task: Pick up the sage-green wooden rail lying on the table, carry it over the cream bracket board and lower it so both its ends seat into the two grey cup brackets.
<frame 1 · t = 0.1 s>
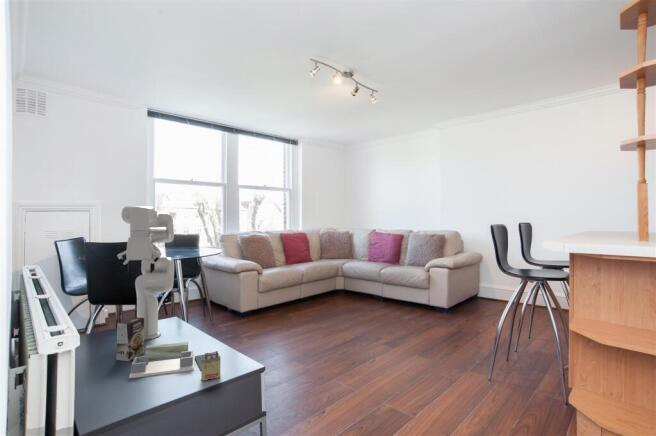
hand: (139, 272, 151), 37 cm above the cabinet, tool pointing down, fingers open, 9 cm apart
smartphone: (205, 363, 145), on the cabinet
worn yellow tin: (210, 378, 132), on the cabinet
rail: (167, 356, 151), on the cabinet
bracket board: (163, 368, 139), on the cabinet
coffee box: (130, 356, 150), on the cabinet
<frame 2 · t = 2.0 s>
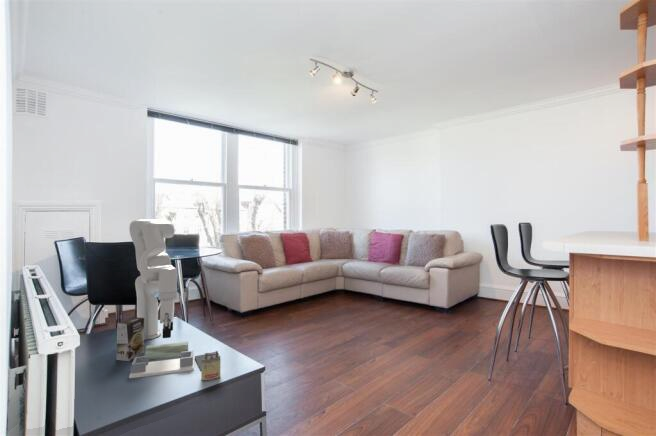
hand: (167, 334, 150), 10 cm above the cabinet, tool pointing down, fingers open, 9 cm apart
nothing on the cabinet moved.
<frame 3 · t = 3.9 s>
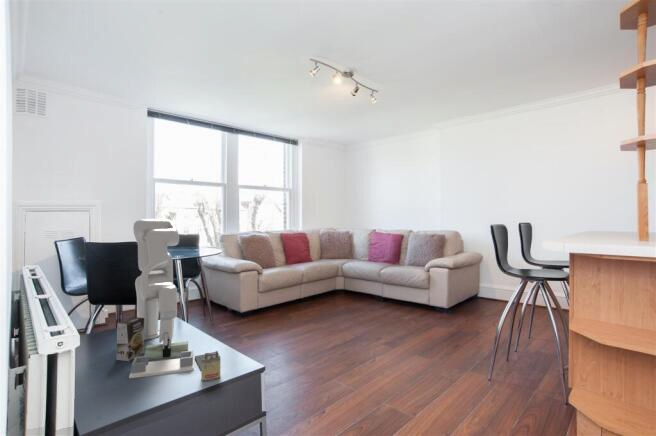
hand: (167, 354, 151), 0 cm above the cabinet, tool pointing down, fingers closed on rail, 3 cm apart
rail: (167, 356, 151), on the cabinet, touching gripper
everything else where it was.
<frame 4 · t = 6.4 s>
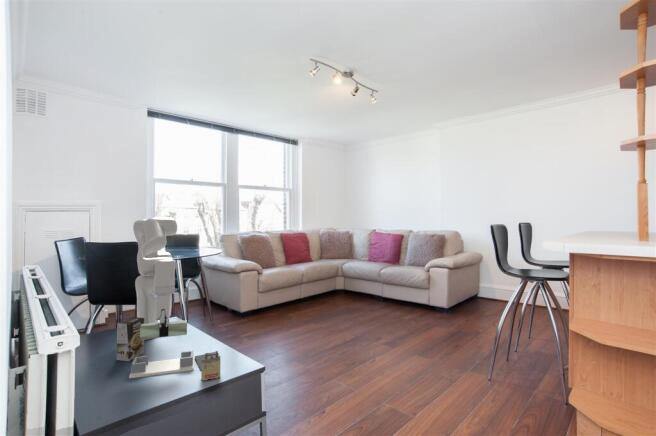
hand: (164, 334, 139), 14 cm above the cabinet, tool pointing down, fingers closed on rail, 3 cm apart
rail: (164, 335, 139), point 13 cm above the cabinet, touching gripper
everything else where it was.
when the fingers open (2 cm above the cabinet, at t = 8.9 s): rail stays where it is, resting on bracket board.
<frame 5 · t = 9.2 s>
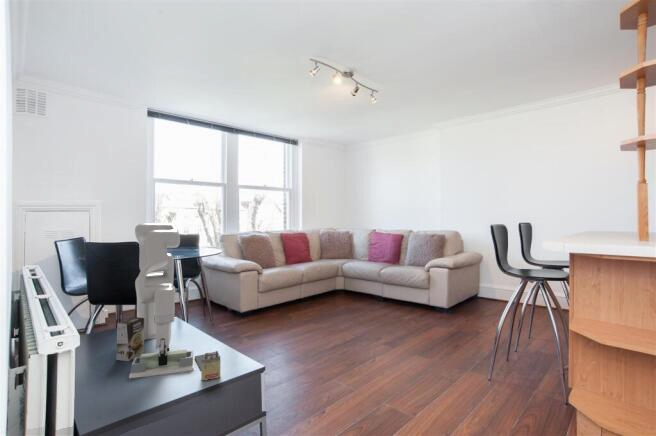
hand: (164, 361, 139), 3 cm above the cabinet, tool pointing down, fingers open, 6 cm apart
rail: (163, 365, 139), point 1 cm above the cabinet, touching bracket board
everything else where it was.
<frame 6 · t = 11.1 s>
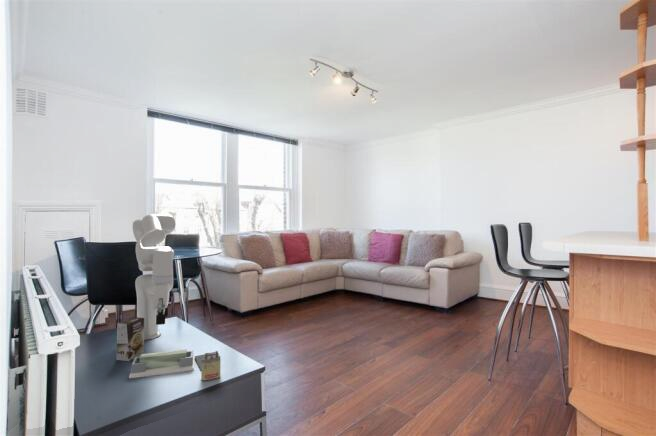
hand: (162, 320, 140), 19 cm above the cabinet, tool pointing down, fingers open, 9 cm apart
nothing on the cabinet moved.
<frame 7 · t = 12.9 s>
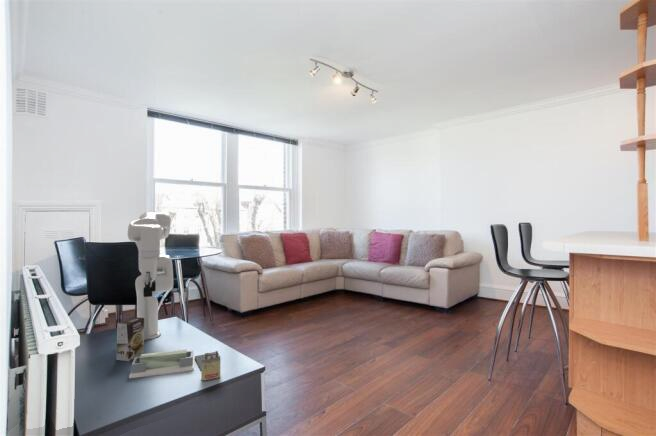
hand: (149, 293, 147), 28 cm above the cabinet, tool pointing down, fingers open, 9 cm apart
nothing on the cabinet moved.
at the end: rail 0.1 cm off-centre on the bracket board, point 1.0 cm above the bracket board's base; rail tilted 0°; the gripper is holding nothing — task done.
